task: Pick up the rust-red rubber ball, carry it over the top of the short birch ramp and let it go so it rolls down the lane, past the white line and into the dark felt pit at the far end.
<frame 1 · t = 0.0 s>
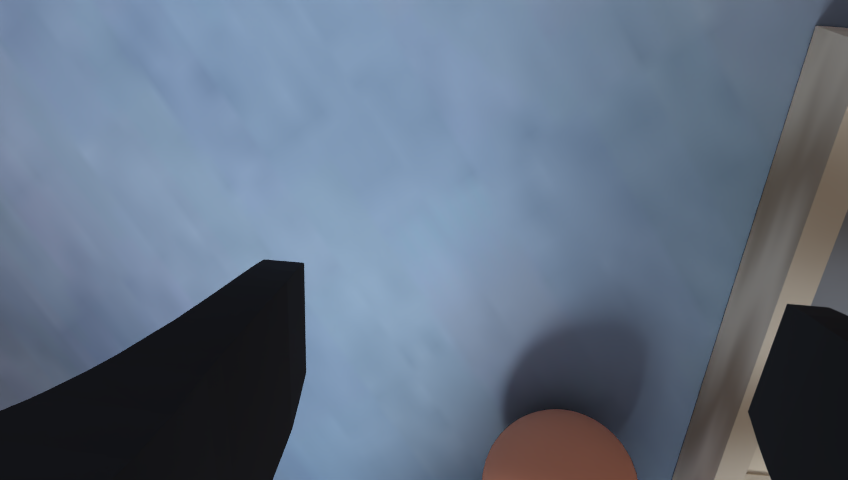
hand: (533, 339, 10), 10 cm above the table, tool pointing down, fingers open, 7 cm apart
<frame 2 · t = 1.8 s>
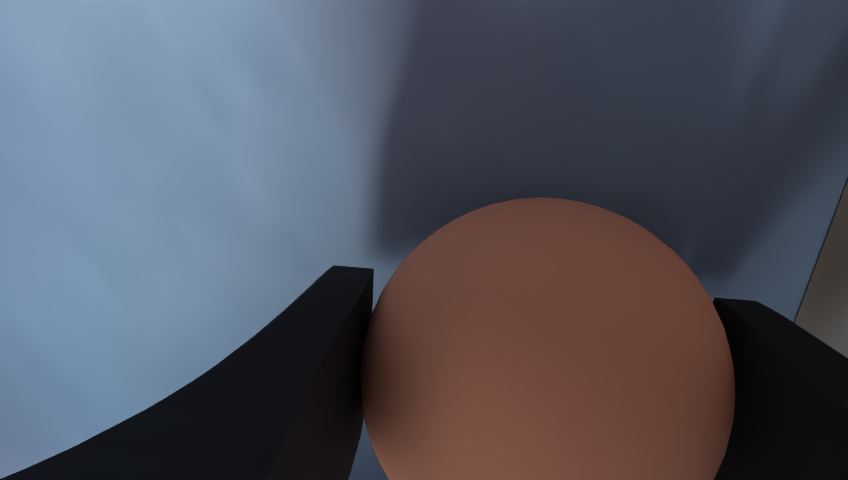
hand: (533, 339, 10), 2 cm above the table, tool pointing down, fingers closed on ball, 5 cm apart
ball: (539, 375, 9), point 2 cm above the table, touching gripper
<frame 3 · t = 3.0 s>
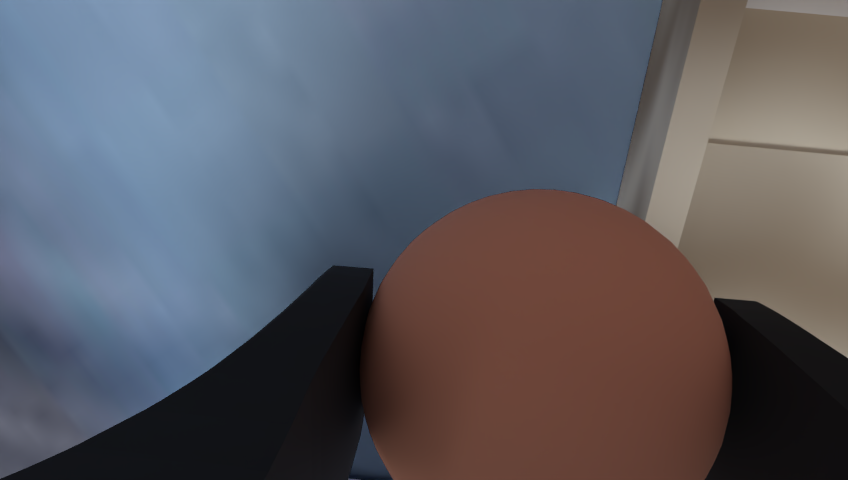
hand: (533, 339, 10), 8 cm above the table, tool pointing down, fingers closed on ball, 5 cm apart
lane: (749, 394, 21), on the table
ball: (537, 367, 10), point 9 cm above the table, touching gripper
when the fingers open (6 cm above the table, at t = 4.3 s): ball drops 4 cm and tips over, resting on lane.
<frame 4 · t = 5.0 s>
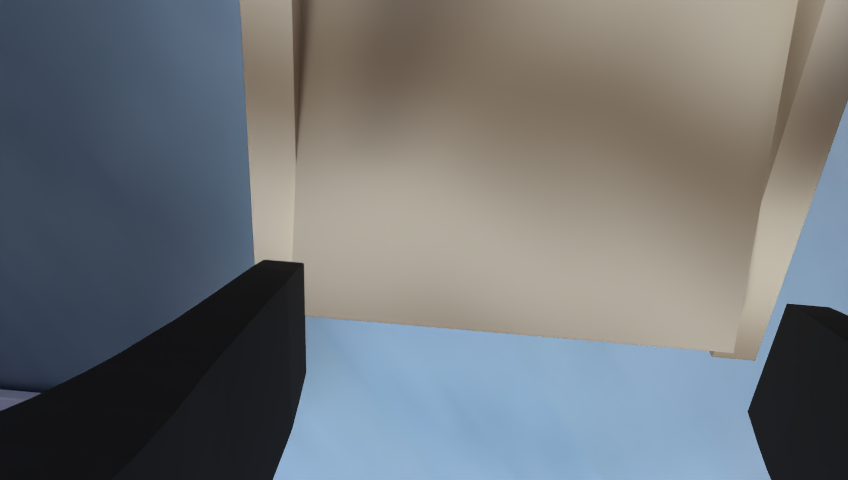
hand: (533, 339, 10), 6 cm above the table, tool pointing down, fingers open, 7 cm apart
lane: (500, 270, 17), on the table
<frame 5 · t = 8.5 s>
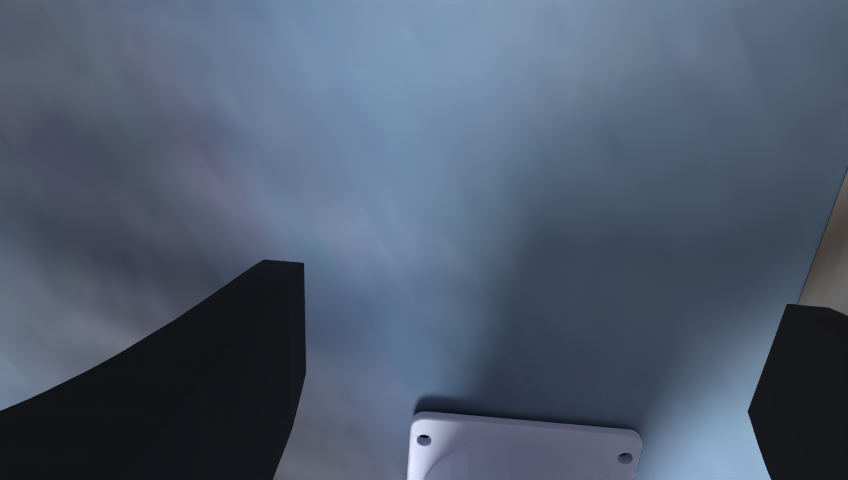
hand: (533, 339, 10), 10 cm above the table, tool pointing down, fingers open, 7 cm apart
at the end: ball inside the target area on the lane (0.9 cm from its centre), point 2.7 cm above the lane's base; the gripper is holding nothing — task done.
